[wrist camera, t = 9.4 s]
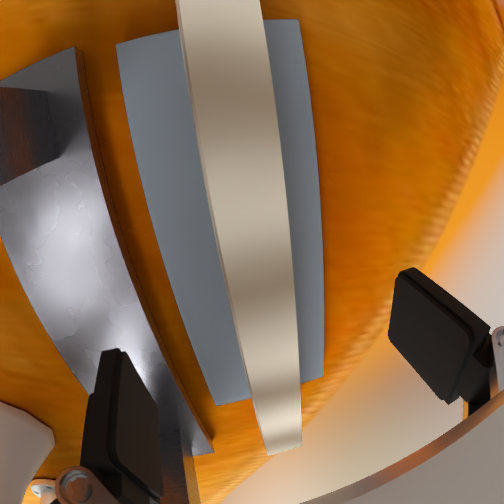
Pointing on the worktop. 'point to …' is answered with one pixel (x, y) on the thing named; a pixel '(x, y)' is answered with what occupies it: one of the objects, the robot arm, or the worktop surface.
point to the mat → (196, 203)
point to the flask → (20, 451)
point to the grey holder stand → (84, 252)
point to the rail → (247, 200)
